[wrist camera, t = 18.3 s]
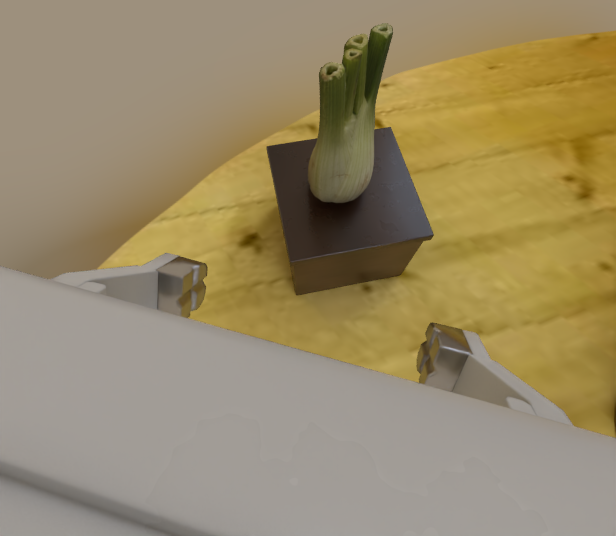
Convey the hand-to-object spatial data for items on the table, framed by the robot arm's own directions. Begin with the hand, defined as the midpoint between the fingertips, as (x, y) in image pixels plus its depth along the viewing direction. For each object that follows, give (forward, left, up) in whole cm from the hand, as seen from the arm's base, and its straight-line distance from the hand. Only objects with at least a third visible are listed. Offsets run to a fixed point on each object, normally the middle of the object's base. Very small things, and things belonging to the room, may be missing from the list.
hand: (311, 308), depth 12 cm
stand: (-6, -13, -21) cm, 26 cm away
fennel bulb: (-5, -13, -12) cm, 19 cm away
